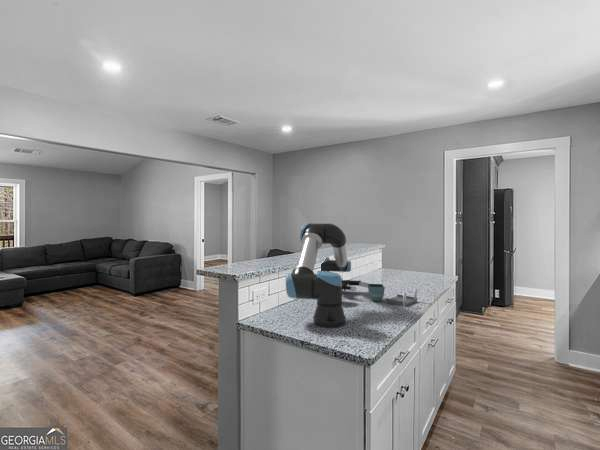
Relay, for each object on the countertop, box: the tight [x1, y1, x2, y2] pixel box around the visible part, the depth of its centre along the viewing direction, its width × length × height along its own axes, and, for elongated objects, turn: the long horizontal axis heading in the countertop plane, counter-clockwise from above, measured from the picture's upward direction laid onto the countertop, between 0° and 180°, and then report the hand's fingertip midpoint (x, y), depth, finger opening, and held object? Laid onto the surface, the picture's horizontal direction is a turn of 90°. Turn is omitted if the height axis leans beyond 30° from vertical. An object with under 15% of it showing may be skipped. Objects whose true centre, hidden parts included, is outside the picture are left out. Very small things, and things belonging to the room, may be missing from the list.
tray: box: [385, 288, 418, 307], centre depth 186 cm, size 15×12×8 cm
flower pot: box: [367, 283, 386, 302], centre depth 191 cm, size 9×9×9 cm
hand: (362, 287), depth 198 cm, fingers open, 13 cm apart
